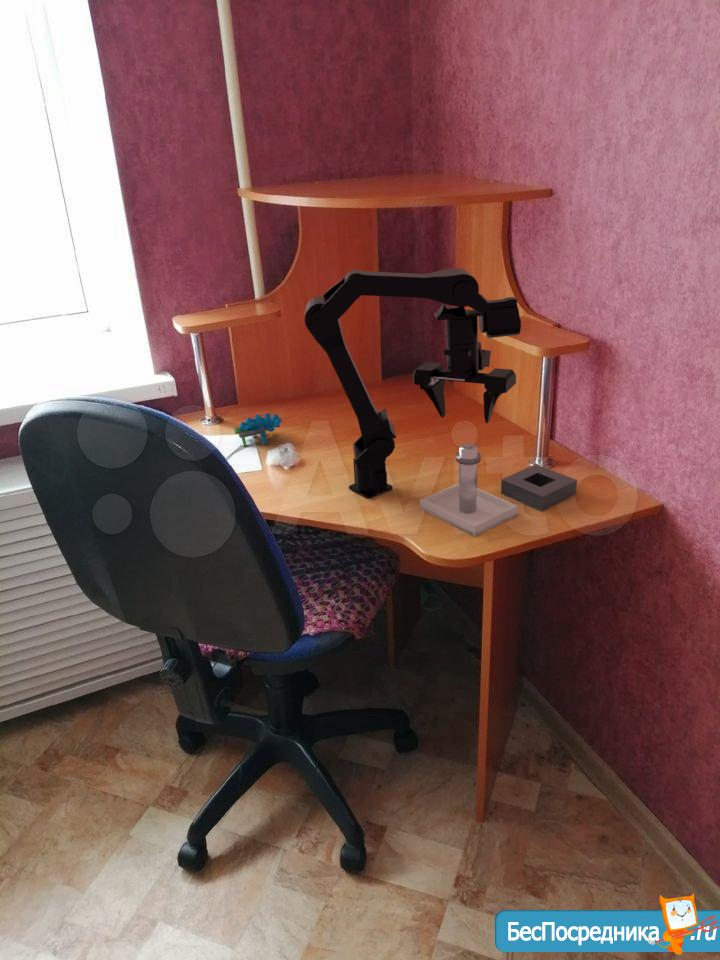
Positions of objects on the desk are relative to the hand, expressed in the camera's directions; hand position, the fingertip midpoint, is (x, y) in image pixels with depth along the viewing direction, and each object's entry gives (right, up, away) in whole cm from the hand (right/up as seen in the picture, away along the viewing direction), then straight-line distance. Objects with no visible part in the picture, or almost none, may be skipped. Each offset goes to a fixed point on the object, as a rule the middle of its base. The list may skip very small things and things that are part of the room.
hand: (465, 419), depth 144 cm
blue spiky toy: (-44, -3, +31) cm, 54 cm away
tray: (0, -18, -5) cm, 18 cm away
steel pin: (0, -17, -6) cm, 18 cm away
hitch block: (+14, -14, 0) cm, 20 cm away
